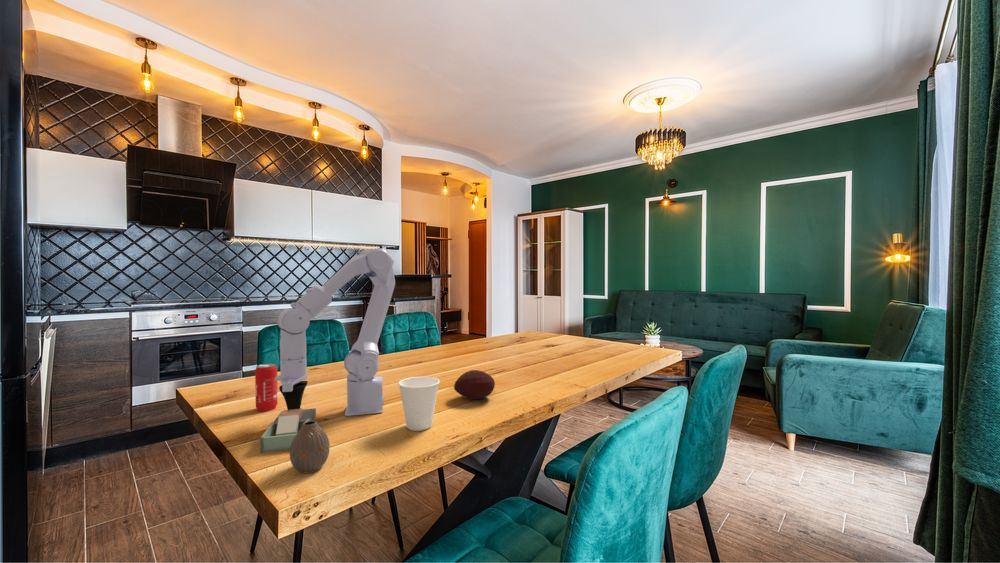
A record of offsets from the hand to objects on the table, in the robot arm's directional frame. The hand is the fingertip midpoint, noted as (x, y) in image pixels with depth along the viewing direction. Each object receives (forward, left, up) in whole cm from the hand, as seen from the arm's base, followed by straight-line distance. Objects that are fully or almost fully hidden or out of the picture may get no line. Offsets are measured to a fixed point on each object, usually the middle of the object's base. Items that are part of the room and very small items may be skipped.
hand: (294, 412), depth 98 cm
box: (0, +10, -3) cm, 10 cm away
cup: (-29, +10, -3) cm, 31 cm away
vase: (-7, +25, -3) cm, 26 cm away
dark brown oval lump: (-47, -7, -3) cm, 48 cm away
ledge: (0, +1, -3) cm, 3 cm away
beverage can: (+10, -15, -3) cm, 18 cm away
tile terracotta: (0, +3, 0) cm, 3 cm away
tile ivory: (0, +6, -1) cm, 7 cm away
